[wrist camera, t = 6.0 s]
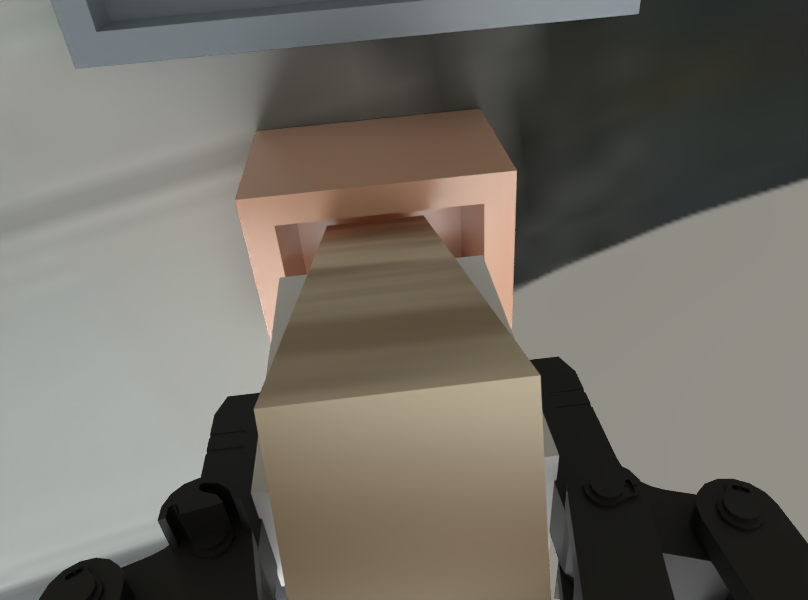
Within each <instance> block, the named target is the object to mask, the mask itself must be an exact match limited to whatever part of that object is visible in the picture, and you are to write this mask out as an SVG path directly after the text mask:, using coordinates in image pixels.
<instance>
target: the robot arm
mask: <svg viewBox="0 0 808 600" xmlns="http://www.w3.org/2000/svg"><path fill="white" fill-rule="evenodd" d="M455 259H456V260H457V262H458V263H459V264H460V266H461V267H462V268H463V270H464V271H465V273H466V274H467V275H468V277H469V278H470V279H471V281H472V282H473V284H474V285H475V286H476V288H477V289H478V290H479V292H480V293H481V295H482V296H483V297H484V299H485V300H486V301H487V303H488V304H489V305H490V307H491V308H492V310H493V311H494V312H495V314H496V315H497V316H498V318H499V319H500V321H501V322H502V323H503V325H504V326H505V327H506V329H507V330H508V331H509V333H510V334H511V336H512V337H513V338H514V336H513V333H512V331H511V328H510V326H509V323H508V320H507V318H506V315H505V312H504V310H503V307H502V305H501V302H500V299H499V297H498V294H497V291H496V289H495V286H494V284H493V281H492V278H491V276H490V273H489V271H488V268H487V265H486V263H485V260H484V257H483V255H479V256H470V257H461V258H455ZM306 277H307V275H298V276H289V277H280V278H279V284H278V292H277V300H276V307H275V315H274V322H273V330H272V337H271V345H270V352H269V360H268V367H267V375H268V372H269V370H270V367H271V365H272V362H273V360H274V357H275V355H276V352H277V350H278V347H279V345H280V342H281V340H282V337H283V335H284V332H285V330H286V327H287V324H288V322H289V319H290V317H291V314H292V312H293V309H294V307H295V304H296V302H297V299H298V297H299V294H300V292H301V289H302V287H303V284H304V282H305V279H306ZM514 340H515V339H514ZM530 362H531V363H532V364H533V366H534V367H535V368H536V370H537V371H538V373H539V374H540V375H541V396H542V418H543V440H544V461H545V483H546V505H547V526H548V548H549V551H550V542H551V538H552V541H553V544H554V547H555V550H556V553H557V556H558V560H559V561H558V570H557V579H556V587H555V597H554V598H556V599H560V600H808V543H807V542H806V540H805V539H804V538H803V537H802V535H801V534H800V533H799V531H798V530H797V529H796V527H795V526H794V525H793V524H792V522H791V521H790V520H789V518H788V517H787V516H786V515H785V513H784V512H783V511H782V509H781V508H780V507H779V505H778V504H777V503H776V502H775V501H774V500H773V499H772V498H771V497H770V496H768V494H766V493H765V492H764V491H762V490H760V489H759V488H756V487H755V486H753V485H751V484H750V483H746V482H743V481H739V480H735V479H716V480H713V481H711V482H708V483H706V484H704V485H703V487H702V488H701V489H700V490H699V491H698V493H697V495H695V494H689V493H682V492H676V491H669V490H663V489H659V488H655V487H652V486H649V485H647V484H645V483H642V482H641V481H640V480H639V479H638V478H637V477H636V476H635V475H634V474H633V473H632V472H631V471H630V470H628V469H626V468H624V467H622V466H621V464H620V463H619V461H618V459H617V458H616V456H615V454H614V452H613V449H612V447H611V445H610V443H609V441H608V439H607V437H606V435H605V433H604V430H603V428H602V426H601V424H600V422H599V420H598V418H597V416H596V414H595V412H594V410H593V407H591V405H590V401H589V399H588V397H587V395H586V393H585V392H584V389H583V387H582V384H581V382H580V380H579V378H578V376H577V374H576V372H575V371H574V370H573V369H572V368H571V367H570V366H569V365H567V364H566V363H565V362H564V361H563V360H562V359H561V358H559V357H551V358H542V359H534V360H530ZM267 375H266V377H267ZM259 395H260V393H254V394H246V395H237V396H229V397H227V398H226V400H225V401H224V403H223V404H222V405H221V407H220V408H219V409H218V411H217V412H216V413H215V415H214V419H213V424H212V428H211V433H210V438H209V442H208V447H207V454H206V456H205V461H204V465H203V470H202V474H201V478H198V479H196V480H193V481H191V482H188V483H186V484H184V485H182V486H181V487H180V488H178V489H177V490H176V491H174V492H173V493H172V494H171V495H170V496H169V497H168V499H167V500H166V501H165V503H164V504H163V505H162V507H161V510H160V514H159V517H158V522H159V524H160V526H161V528H162V531H163V533H164V535H165V537H166V539H167V541H168V543H169V546H167V547H166V548H165V549H163V550H161V551H159V552H157V553H155V554H153V555H151V556H149V557H146V558H144V559H142V560H139V561H137V562H134V563H132V564H130V565H127V566H125V567H122V568H120V566H118V565H117V564H116V563H114V562H113V561H111V560H110V559H102V558H93V559H89V560H85V561H80V562H78V563H76V564H75V565H73V566H71V567H69V568H67V569H65V570H64V571H63V572H61V573H60V574H59V575H58V576H57V577H56V578H55V579H54V580H53V581H52V582H50V583H49V585H48V586H47V588H46V589H45V591H44V593H43V594H42V596H41V597H40V599H39V600H276V598H275V593H276V580H277V574H278V577H279V580H280V583H281V586H285V583H284V577H283V572H282V566H281V560H280V555H279V549H278V543H277V538H276V532H275V527H274V521H273V515H272V510H271V504H270V498H269V493H268V487H267V481H266V476H265V470H264V464H263V459H262V453H261V447H260V442H259V436H258V430H257V425H256V419H255V413H254V407H255V405H256V402H257V400H258V397H259Z"/></svg>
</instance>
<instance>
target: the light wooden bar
mask: <svg viewBox="0 0 808 600" xmlns="http://www.w3.org/2000/svg"><path fill="white" fill-rule="evenodd" d="M254 413H255V419H256V425H257V430H258V436H259V442H260V447H261V453H262V459H263V464H264V470H265V476H266V481H267V487H268V493H269V498H270V504H271V510H272V515H273V521H274V527H275V532H276V538H277V543H278V549H279V555H280V560H281V566H282V572H283V577H284V583H285V589H286V594H287V600H551V592H550V570H549V548H548V526H547V505H546V483H545V461H544V440H543V418H542V396H541V375H540V374H539V373H538V371H537V370H536V368H535V367H534V366H533V364H532V363H531V362H530V360H529V359H528V357H527V356H526V355H525V353H524V352H523V351H522V349H521V348H520V347H519V345H518V344H517V342H516V341H515V340H514V338H513V337H512V336H511V334H510V333H509V331H508V330H507V329H506V327H505V326H504V325H503V323H502V322H501V321H500V319H499V318H498V316H497V315H496V314H495V312H494V311H493V310H492V308H491V307H490V305H489V304H488V303H487V301H486V300H485V299H484V297H483V296H482V295H481V293H480V292H479V290H478V289H477V288H476V286H475V285H474V284H473V282H472V281H471V279H470V278H469V277H468V275H467V274H466V273H465V271H464V270H463V268H462V267H461V266H460V264H459V263H458V262H457V260H456V259H455V258H454V256H453V255H452V253H451V252H450V251H449V249H448V248H447V247H446V245H445V244H444V242H443V241H442V240H441V238H440V237H439V236H438V234H437V233H436V232H435V230H434V229H433V227H432V226H431V225H430V223H429V222H428V221H427V219H426V218H425V216H424V215H422V216H412V217H403V218H394V219H385V220H376V221H366V222H357V223H348V224H339V225H329V226H327V227H326V229H325V232H324V234H323V237H322V239H321V242H320V244H319V247H318V249H317V252H316V254H315V257H314V259H313V262H312V264H311V267H310V269H309V272H308V274H307V277H306V279H305V282H304V284H303V287H302V289H301V292H300V294H299V297H298V299H297V302H296V304H295V307H294V309H293V312H292V314H291V317H290V319H289V322H288V324H287V327H286V330H285V332H284V335H283V337H282V340H281V342H280V345H279V347H278V350H277V352H276V355H275V357H274V360H273V362H272V365H271V367H270V370H269V372H268V375H267V377H266V380H265V382H264V385H263V387H262V390H261V392H260V395H259V397H258V400H257V402H256V405H255V407H254Z"/></svg>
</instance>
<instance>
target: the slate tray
mask: <svg viewBox="0 0 808 600" xmlns="http://www.w3.org/2000/svg"><path fill="white" fill-rule="evenodd" d="M51 3H52V5H53V8H54V11H55V14H56V16H57V19H58V22H59V25H60V27H61V30H62V33H63V36H64V38H65V41H66V44H67V47H68V50H69V52H70V55H71V58H72V61H73V63H74V66H75V69H78V68H89V67H99V66H109V65H119V64H130V63H140V62H150V61H160V60H171V59H181V58H191V57H201V56H212V55H222V54H232V53H242V52H253V51H263V50H273V49H283V48H294V47H304V46H314V45H324V44H335V43H345V42H355V41H365V40H376V39H386V38H396V37H406V36H417V35H427V34H437V33H447V32H458V31H468V30H478V29H488V28H499V27H509V26H519V25H529V24H540V23H550V22H560V21H570V20H581V19H591V18H601V17H611V16H622V15H632V14H639V7H640V0H51Z"/></svg>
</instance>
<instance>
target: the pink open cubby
mask: <svg viewBox="0 0 808 600" xmlns="http://www.w3.org/2000/svg"><path fill="white" fill-rule="evenodd" d="M516 180H517V170H516V168H515V167H514V165H513V163H512V162H511V160H510V158H509V156H508V155H507V153H506V151H505V150H504V148H503V146H502V145H501V143H500V141H499V139H498V138H497V136H496V134H495V133H494V131H493V129H492V128H491V126H490V124H489V122H488V121H487V119H486V117H485V116H484V114H483V112H482V110H481V109H470V110H461V111H451V112H441V113H431V114H421V115H411V116H401V117H391V118H382V119H372V120H362V121H352V122H342V123H332V124H322V125H312V126H303V127H293V128H283V129H273V130H263V131H256V133H255V136H254V140H253V143H252V146H251V149H250V153H249V156H248V159H247V162H246V166H245V169H244V172H243V175H242V179H241V182H240V185H239V188H238V192H237V195H236V198H235V202H236V206H237V210H238V214H239V218H240V222H241V226H242V230H243V234H244V238H245V242H246V246H247V251H248V255H249V259H250V263H251V267H252V271H253V275H254V279H255V283H256V287H257V291H258V295H259V299H260V303H261V307H262V311H263V315H264V319H265V323H266V327H267V331H268V335H269V339H270V343H271V337H272V330H273V322H274V315H275V307H276V300H277V292H278V284H279V278H280V277H289V276H298V275H307V274H308V272H309V269H310V267H311V264H312V262H313V259H314V257H315V254H316V252H317V249H318V247H319V244H320V242H321V239H322V237H323V234H324V232H325V229H326V227H327V226H329V225H339V224H348V223H357V222H366V221H376V220H385V219H394V218H403V217H412V216H422V215H424V216H425V218H426V219H427V221H428V222H429V223H430V225H431V226H432V227H433V229H434V230H435V232H436V233H437V234H438V236H439V237H440V238H441V240H442V241H443V242H444V244H445V245H446V247H447V248H448V249H449V251H450V252H451V253H452V255H453V256H454V258H461V257H470V256H479V255H483V257H484V260H485V263H486V265H487V268H488V271H489V273H490V276H491V278H492V281H493V284H494V286H495V289H496V291H497V294H498V297H499V299H500V302H501V305H502V307H503V310H504V312H505V315H506V318H507V320H508V323H509V326H510V328H511V331H512V307H513V306H512V305H513V275H514V243H515V212H516Z"/></svg>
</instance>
